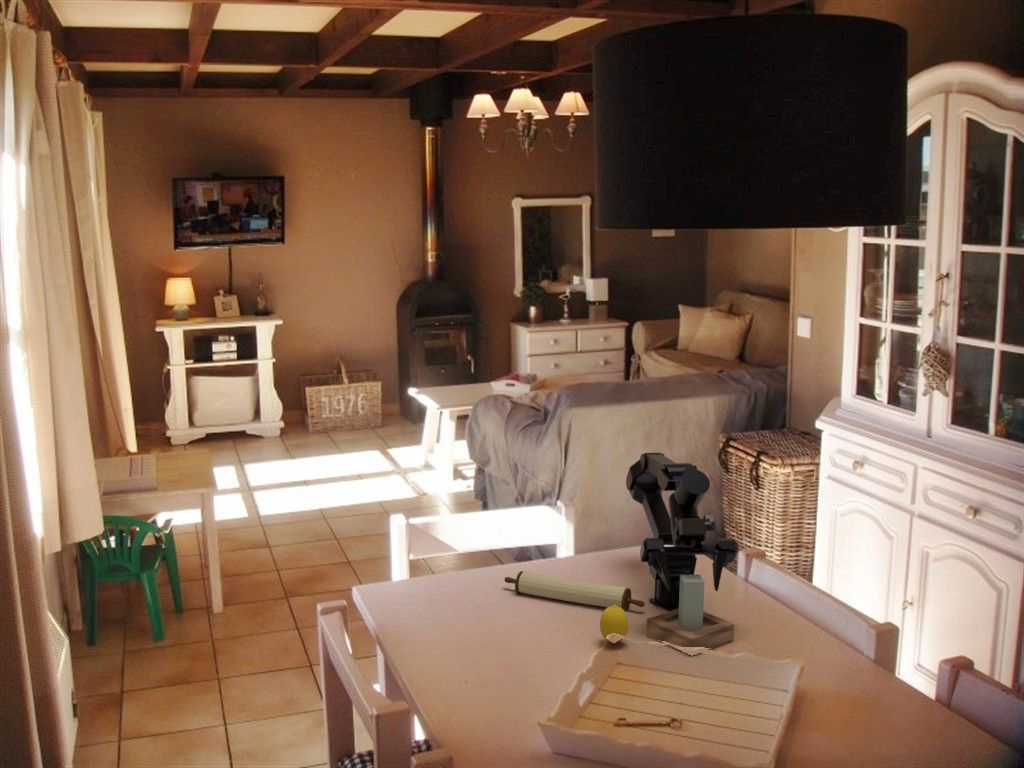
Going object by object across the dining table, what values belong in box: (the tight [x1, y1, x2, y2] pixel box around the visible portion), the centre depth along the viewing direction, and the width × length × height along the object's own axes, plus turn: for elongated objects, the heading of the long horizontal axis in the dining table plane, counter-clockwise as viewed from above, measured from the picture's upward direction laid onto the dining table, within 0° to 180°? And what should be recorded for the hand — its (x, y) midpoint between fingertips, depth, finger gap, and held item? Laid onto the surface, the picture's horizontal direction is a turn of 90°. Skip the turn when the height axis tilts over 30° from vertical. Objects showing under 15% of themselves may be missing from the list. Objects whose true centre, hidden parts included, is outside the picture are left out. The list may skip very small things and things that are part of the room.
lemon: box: [599, 605, 629, 640], centre depth 202 cm, size 6×6×8 cm
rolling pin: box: [504, 570, 646, 613], centre depth 223 cm, size 32×6×5 cm, turn 66°
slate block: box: [678, 574, 705, 631], centre depth 204 cm, size 4×4×10 cm
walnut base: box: [646, 608, 735, 650], centre depth 205 cm, size 12×12×4 cm
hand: (693, 590), depth 202 cm, fingers open, 9 cm apart
